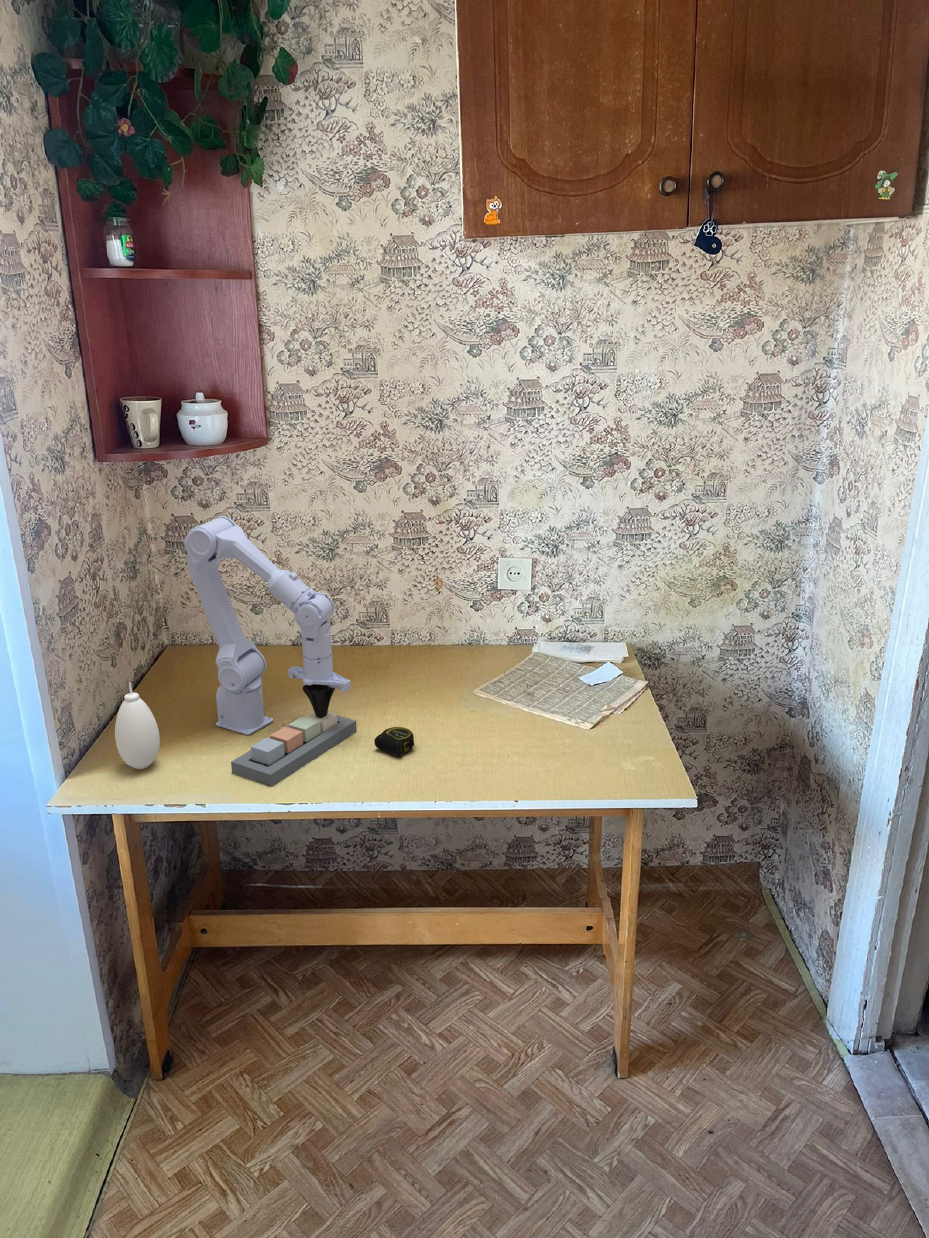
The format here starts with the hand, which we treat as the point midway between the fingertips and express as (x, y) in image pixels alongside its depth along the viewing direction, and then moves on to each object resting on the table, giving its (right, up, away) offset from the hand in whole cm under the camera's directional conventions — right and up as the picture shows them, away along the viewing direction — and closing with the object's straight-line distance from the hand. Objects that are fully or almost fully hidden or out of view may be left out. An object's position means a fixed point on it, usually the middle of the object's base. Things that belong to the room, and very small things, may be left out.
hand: (321, 715), depth 193 cm
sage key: (-3, -3, -4) cm, 6 cm away
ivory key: (0, -3, +1) cm, 3 cm away
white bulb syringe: (-33, -9, -10) cm, 36 cm away
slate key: (-8, -7, -12) cm, 16 cm away
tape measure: (+16, -7, -5) cm, 18 cm away
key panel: (-4, -7, -5) cm, 9 cm away
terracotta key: (-6, -5, -8) cm, 11 cm away
